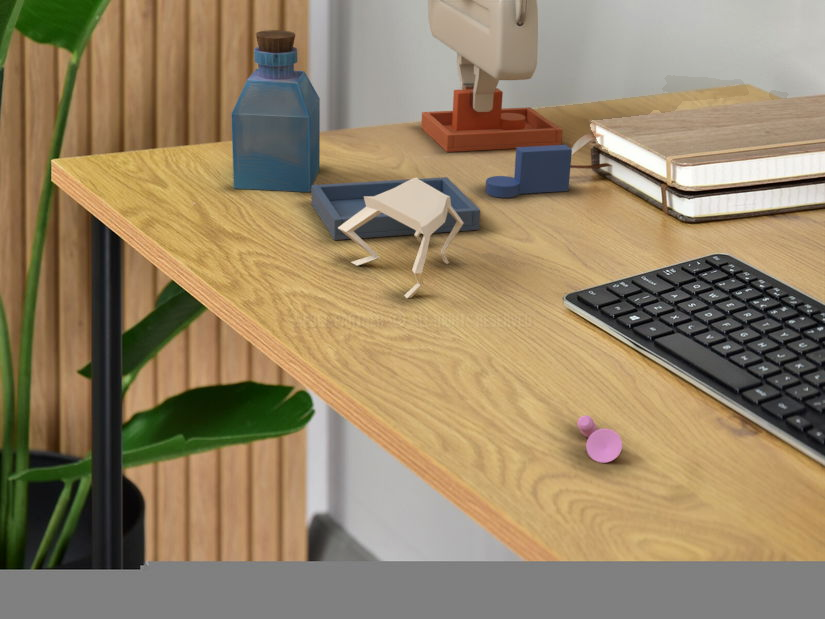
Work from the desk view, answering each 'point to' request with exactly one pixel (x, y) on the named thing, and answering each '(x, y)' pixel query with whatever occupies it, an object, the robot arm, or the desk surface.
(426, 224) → the origami figure
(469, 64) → the robot arm
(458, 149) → the terracotta tray
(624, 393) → the desk surface
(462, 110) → the red brick block
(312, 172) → the perfume bottle
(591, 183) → the desk surface
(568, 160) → the blue block with disc
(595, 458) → the pink game pawn
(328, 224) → the blue tray
